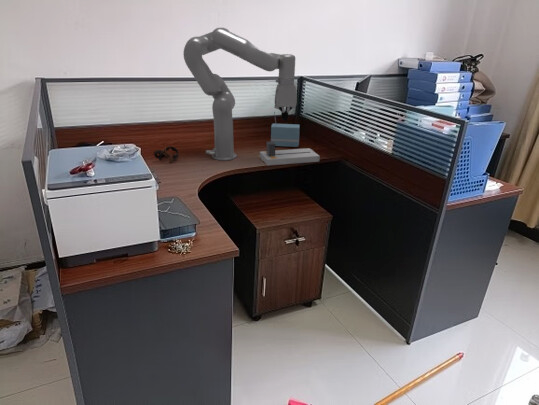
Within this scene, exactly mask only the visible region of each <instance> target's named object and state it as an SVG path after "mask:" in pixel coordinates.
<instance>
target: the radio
mask: <svg viewBox="0 0 539 405" xmlns="http://www.w3.org/2000/svg"><path fill="white" fill-rule="evenodd" d="M274 116H276V112H275V111H274ZM274 122H275V123H271V127H270V128H271V129H270V141H273V142H274V143H275V146H276V147H289V148H292V147H293V149H296V148H299V145H300V127H301V126H300V125H301V124H293V123H277V119H276V117H274Z"/></svg>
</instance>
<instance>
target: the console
mask: <svg viewBox="0 0 539 405" xmlns="http://www.w3.org/2000/svg"><path fill="white" fill-rule="evenodd" d="M259 158H260V159H261V160H262V161H264V162H265V163H266V164H267V165H266V164H265V163H264V162H263V163H264V164H265V165H266V166H276V165H278V166H279V165H292V164H293V165H294V164H304V163H318V162H320V155H319V154H318V153H316V152H315V151H314V150H313V149H311V148H308V147H307V148H293V149H291V148H290V149H280V150H276V149H275V156H269V155H268V154H267V153H266V150H264V151H263V150H262V151H259Z"/></svg>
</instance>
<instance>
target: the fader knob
mask: <svg viewBox="0 0 539 405" xmlns="http://www.w3.org/2000/svg"><path fill="white" fill-rule="evenodd" d="M265 147H266V150H265V151H266V153H267V154H268V155H269V156H275V151H276V147H275V143H274V142H273V141H271V140H270V141H266V146H265Z"/></svg>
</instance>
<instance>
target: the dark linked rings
mask: <svg viewBox="0 0 539 405" xmlns="http://www.w3.org/2000/svg"><path fill="white" fill-rule="evenodd" d="M169 150H171V151H173V152H175V154H172V156H171V153H169V152H168V151H169ZM179 154H180V152H179V150H178V149H177V148H176V147H174V146H172V145H171V146H170V145H167V146H165V147H164V148H162V149H161V150H157V149H156V150H155V151H154V153H153V155H154V158H156V159H158V160H159V161H162V159H164V158H165V159H169V161H168V163H170V164H172V163H173V162H175V161H176V160H178V158H179Z"/></svg>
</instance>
